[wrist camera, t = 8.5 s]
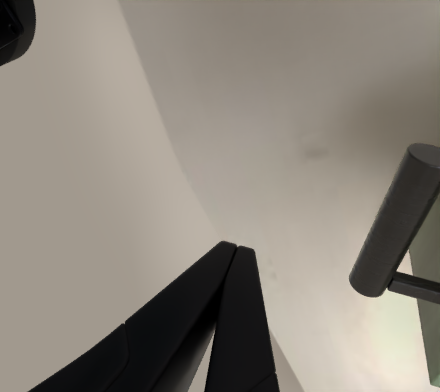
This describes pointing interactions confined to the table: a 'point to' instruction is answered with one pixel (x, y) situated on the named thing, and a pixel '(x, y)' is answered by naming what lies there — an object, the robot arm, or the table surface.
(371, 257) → the drawer
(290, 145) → the table surface
